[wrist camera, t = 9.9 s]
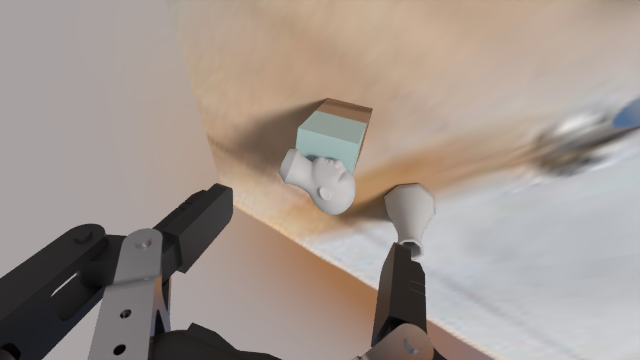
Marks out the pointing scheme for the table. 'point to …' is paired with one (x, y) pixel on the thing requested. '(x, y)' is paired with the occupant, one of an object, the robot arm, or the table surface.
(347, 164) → the tower top
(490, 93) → the table surface
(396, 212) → the flask
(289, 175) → the mannequin head
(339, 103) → the tower bottom
